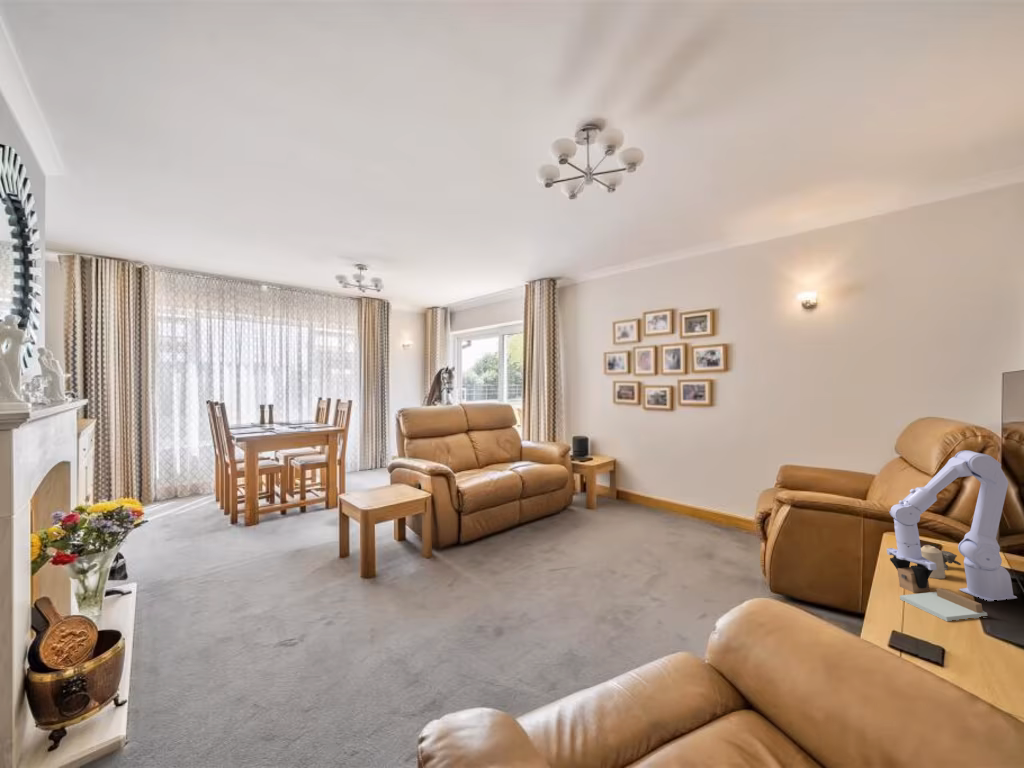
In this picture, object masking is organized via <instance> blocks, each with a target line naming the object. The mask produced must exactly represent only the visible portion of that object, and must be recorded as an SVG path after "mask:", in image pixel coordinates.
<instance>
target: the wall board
mask: <svg viewBox="0 0 1024 768" xmlns="http://www.w3.org/2000/svg"><path fill="white" fill-rule="evenodd" d="M935 590H936V591H928V592H918V593H912V594H910V593H909V594H902V595H899V600H901V601H903V602H904V601H905V603H907V604H909V605H911V606H913V607H916V608H917V609H920V610H921V611H924V612H926V613H928V614H930V615H933V616H935V617H936V616H937V618H939V619H941V620H943V621H945V622H953V621H952V620H956V621H960V620H959V619H965V620H968V619H967V618H974V619H980V618H979V617H981V616H988V612H986V611H984V610H983V606H982V603H979V602H977V601H975V600H972V599H970V598H968V597H964V596H963V595H960V594H958V593H955V592H953V591H951V590H947V589H946V588H942V587H941V588H939V587H938V588H936V589H935Z"/></svg>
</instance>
